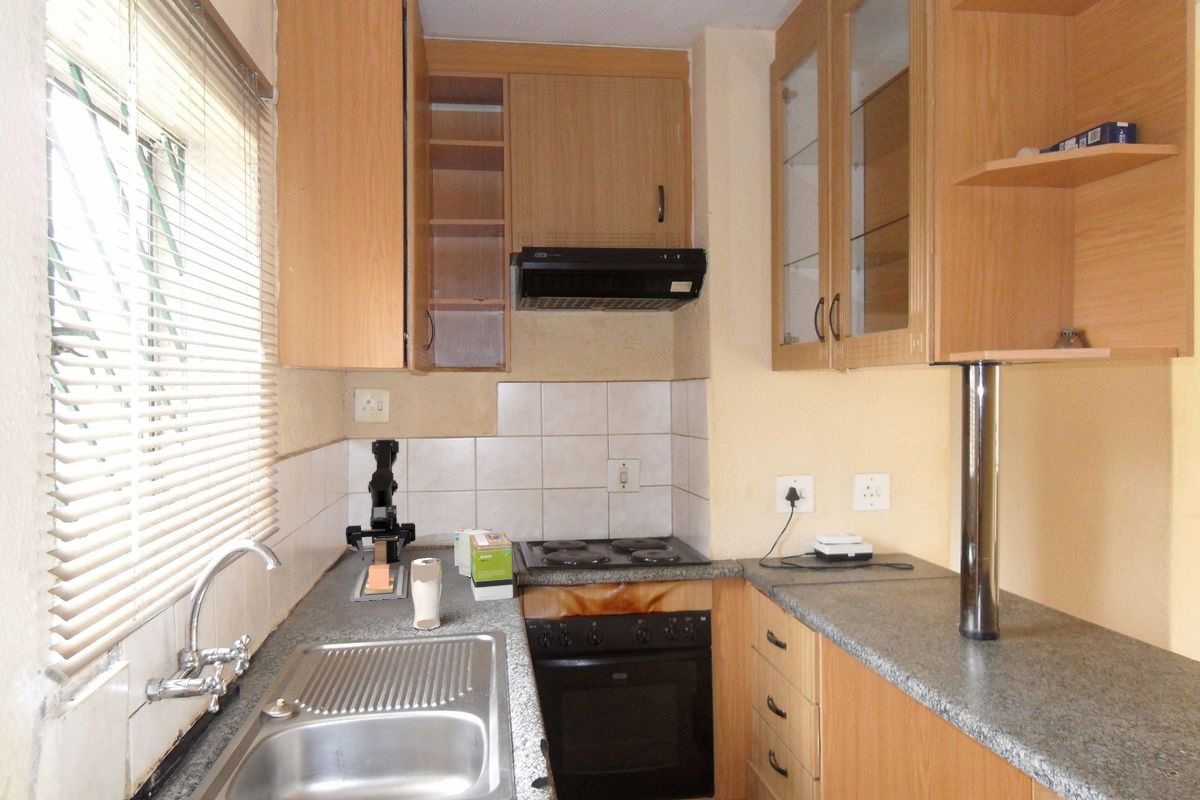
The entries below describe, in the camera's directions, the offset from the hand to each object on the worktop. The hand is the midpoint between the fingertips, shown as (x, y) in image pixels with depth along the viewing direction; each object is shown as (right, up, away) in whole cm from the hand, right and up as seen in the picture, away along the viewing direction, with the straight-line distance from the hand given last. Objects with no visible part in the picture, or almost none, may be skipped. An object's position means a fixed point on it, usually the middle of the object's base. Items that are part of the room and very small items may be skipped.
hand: (380, 559), depth 213 cm
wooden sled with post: (+1, -7, -3) cm, 7 cm away
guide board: (0, -8, +2) cm, 8 cm away
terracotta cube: (+2, -6, -7) cm, 9 cm away
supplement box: (+24, -8, +15) cm, 29 cm away
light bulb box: (+21, -8, +28) cm, 36 cm away
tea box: (+31, -8, -7) cm, 33 cm away
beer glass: (+21, -8, -36) cm, 43 cm away
